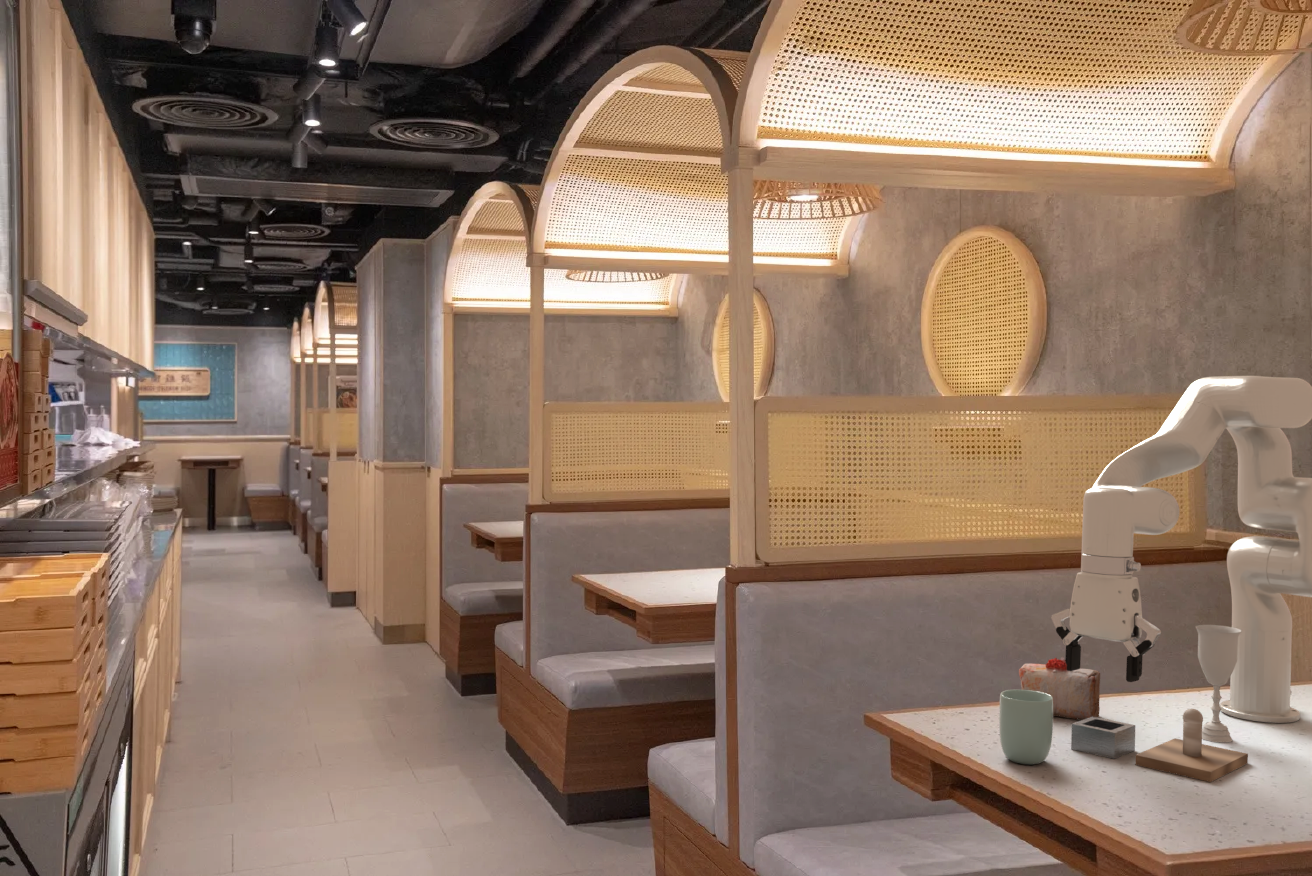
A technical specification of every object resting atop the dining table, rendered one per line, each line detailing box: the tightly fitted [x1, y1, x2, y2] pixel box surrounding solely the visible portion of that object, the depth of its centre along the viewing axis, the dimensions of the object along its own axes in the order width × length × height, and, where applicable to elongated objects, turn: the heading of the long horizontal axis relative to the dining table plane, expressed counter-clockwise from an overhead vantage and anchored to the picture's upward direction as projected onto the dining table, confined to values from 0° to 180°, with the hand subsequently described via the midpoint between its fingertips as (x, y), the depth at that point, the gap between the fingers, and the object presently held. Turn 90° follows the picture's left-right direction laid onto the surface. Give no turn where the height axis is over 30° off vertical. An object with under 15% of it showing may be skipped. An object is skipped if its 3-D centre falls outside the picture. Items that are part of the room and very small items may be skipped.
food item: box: [1018, 656, 1101, 721], centre depth 206 cm, size 14×8×10 cm, turn 58°
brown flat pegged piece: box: [1134, 708, 1249, 783], centre depth 177 cm, size 14×11×8 cm
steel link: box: [1070, 716, 1136, 760], centre depth 184 cm, size 7×7×4 cm
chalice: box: [1195, 624, 1241, 743], centre depth 191 cm, size 7×7×18 cm
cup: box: [998, 689, 1054, 765], centre depth 177 cm, size 8×8×10 cm
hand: (1102, 675), depth 183 cm, fingers open, 9 cm apart
